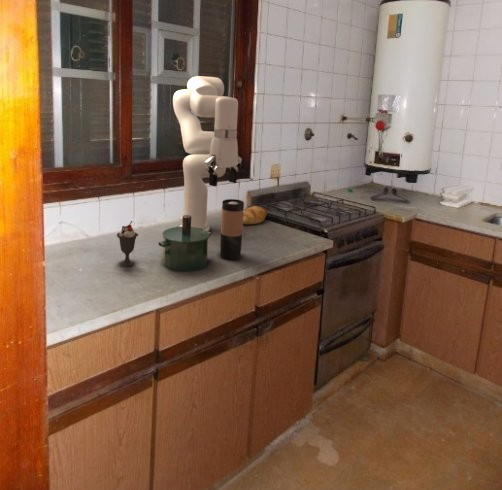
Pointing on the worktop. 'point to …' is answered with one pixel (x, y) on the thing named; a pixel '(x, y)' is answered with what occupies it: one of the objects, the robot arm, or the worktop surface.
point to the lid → (186, 233)
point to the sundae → (127, 243)
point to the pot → (184, 255)
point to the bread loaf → (254, 215)
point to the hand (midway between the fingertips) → (222, 183)
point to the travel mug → (231, 229)
